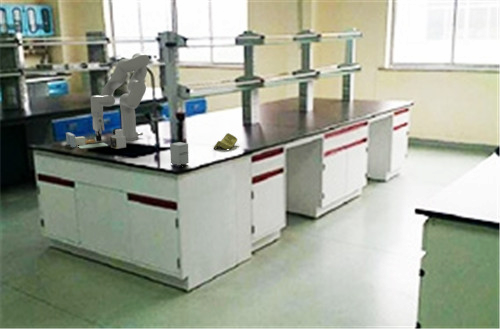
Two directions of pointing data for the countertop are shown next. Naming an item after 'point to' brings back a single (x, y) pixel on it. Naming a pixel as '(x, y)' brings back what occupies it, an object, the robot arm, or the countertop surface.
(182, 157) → the supplement box
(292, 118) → the countertop surface
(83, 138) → the plug
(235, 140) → the plastic component
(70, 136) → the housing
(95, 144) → the mat
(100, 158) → the countertop surface
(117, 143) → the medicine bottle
